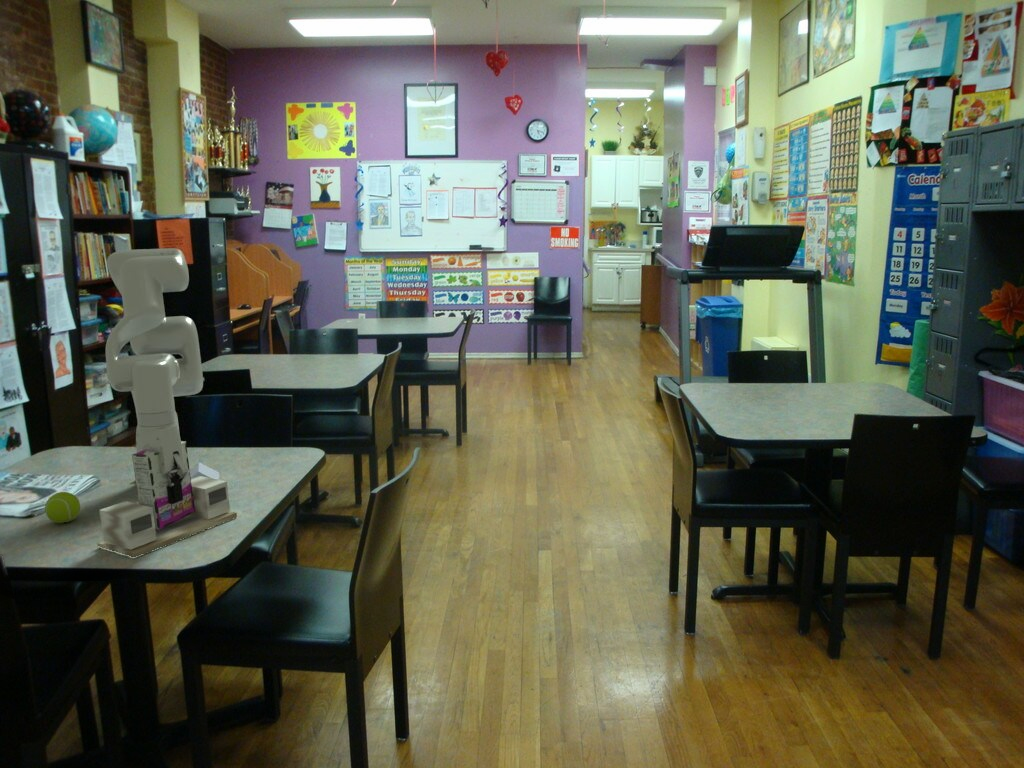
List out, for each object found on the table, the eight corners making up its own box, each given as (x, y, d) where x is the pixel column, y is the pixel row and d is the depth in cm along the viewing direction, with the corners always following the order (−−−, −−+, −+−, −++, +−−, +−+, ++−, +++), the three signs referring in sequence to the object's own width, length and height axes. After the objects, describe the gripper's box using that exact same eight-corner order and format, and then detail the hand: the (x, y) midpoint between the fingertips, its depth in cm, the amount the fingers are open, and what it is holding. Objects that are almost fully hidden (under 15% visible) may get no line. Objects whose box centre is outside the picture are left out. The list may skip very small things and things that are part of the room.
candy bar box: (177, 510, 188) (169, 439, 184) (195, 512, 186) (187, 440, 183) (140, 528, 178) (130, 453, 174) (158, 530, 176) (149, 455, 172)
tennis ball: (56, 517, 194) (51, 488, 193) (87, 515, 195) (83, 487, 193) (41, 528, 187) (37, 498, 186) (73, 526, 188) (69, 497, 186)
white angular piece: (182, 490, 211) (180, 506, 199) (179, 464, 210) (177, 479, 198) (220, 485, 214) (220, 500, 202) (217, 459, 213) (218, 474, 201)
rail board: (98, 548, 174) (92, 509, 173) (201, 509, 196) (198, 474, 194) (133, 559, 168) (128, 518, 167) (237, 517, 190) (233, 481, 188)
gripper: (115, 418, 179) (126, 499, 182) (167, 426, 170) (177, 511, 173) (146, 410, 185) (156, 489, 188) (198, 418, 176) (207, 500, 180)
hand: (166, 499), depth 181 cm, fingers closed on candy bar box, 5 cm apart
